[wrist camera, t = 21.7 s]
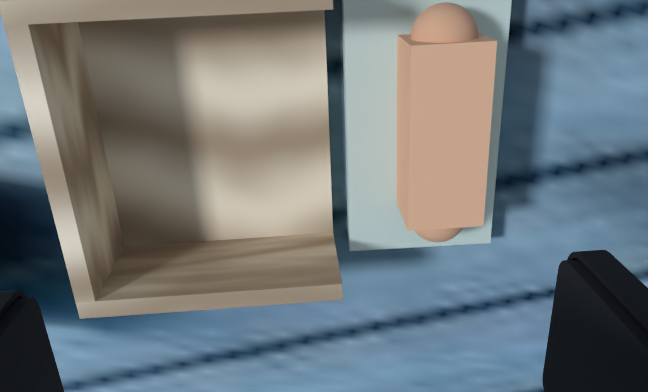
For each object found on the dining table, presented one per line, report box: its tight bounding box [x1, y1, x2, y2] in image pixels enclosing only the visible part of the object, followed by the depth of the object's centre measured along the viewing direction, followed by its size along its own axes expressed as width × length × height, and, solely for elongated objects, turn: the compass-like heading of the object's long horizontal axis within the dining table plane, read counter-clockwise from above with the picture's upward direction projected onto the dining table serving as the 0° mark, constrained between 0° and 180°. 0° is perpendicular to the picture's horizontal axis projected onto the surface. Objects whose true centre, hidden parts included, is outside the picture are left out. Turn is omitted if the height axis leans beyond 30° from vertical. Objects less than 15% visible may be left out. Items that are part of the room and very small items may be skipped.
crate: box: [0, 0, 343, 319], centre depth 30 cm, size 16×14×7 cm
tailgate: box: [342, 0, 512, 251], centre depth 33 cm, size 16×1×9 cm
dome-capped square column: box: [396, 2, 497, 242], centre depth 31 cm, size 13×4×4 cm, turn 3°
